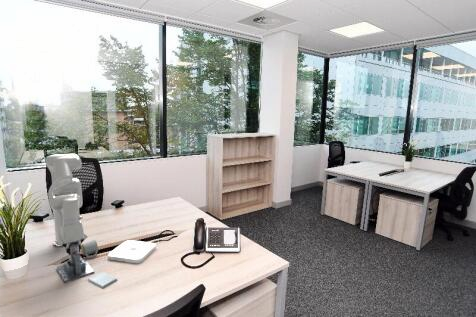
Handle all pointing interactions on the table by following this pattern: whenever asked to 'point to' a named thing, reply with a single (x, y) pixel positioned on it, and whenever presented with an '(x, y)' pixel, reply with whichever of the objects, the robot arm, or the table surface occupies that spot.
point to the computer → (132, 251)
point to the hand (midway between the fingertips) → (73, 252)
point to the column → (73, 251)
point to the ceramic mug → (89, 248)
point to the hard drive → (102, 279)
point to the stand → (74, 269)
